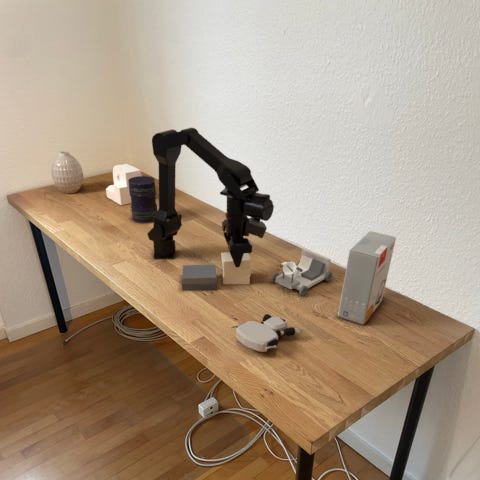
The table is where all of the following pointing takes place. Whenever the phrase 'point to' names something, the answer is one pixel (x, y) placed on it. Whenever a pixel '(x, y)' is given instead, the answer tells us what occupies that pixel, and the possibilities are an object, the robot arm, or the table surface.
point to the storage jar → (143, 199)
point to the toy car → (304, 272)
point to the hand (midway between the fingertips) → (235, 262)
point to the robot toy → (263, 333)
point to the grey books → (199, 277)
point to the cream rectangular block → (229, 263)
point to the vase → (67, 172)
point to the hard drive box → (366, 276)
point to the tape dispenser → (122, 183)
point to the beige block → (236, 276)
